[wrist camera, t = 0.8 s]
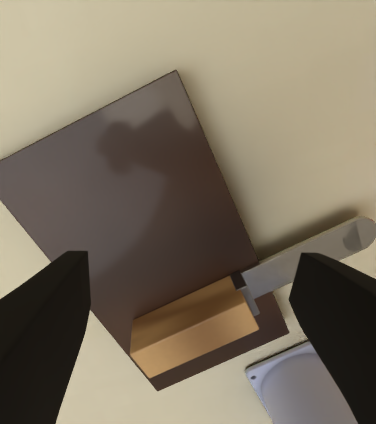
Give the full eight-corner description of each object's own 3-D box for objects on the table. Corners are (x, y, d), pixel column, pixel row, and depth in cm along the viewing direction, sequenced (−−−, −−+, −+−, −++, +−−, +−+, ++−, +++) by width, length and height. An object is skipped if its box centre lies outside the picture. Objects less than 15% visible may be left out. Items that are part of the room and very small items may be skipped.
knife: (149, 343, 21) (149, 379, 19) (131, 319, 20) (128, 354, 18) (376, 239, 20) (411, 262, 17) (370, 209, 19) (407, 228, 16)
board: (281, 319, 24) (289, 333, 23) (157, 375, 25) (157, 391, 23) (174, 71, 16) (176, 69, 14) (-9, 166, 17) (-23, 172, 15)
